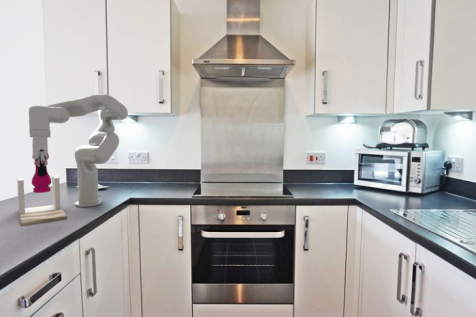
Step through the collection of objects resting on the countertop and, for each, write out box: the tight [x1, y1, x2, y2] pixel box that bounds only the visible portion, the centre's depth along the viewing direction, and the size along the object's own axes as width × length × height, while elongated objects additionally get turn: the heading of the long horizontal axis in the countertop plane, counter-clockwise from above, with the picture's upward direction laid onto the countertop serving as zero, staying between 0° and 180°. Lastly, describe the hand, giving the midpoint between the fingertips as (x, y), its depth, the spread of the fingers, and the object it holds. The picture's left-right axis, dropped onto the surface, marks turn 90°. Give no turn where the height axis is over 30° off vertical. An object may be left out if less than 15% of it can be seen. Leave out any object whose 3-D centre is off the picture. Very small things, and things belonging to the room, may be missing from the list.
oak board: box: [19, 208, 68, 226], centre depth 125 cm, size 16×16×1 cm
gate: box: [16, 174, 61, 216], centre depth 136 cm, size 10×16×16 cm, turn 130°
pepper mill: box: [31, 153, 52, 194], centre depth 123 cm, size 7×7×20 cm
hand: (41, 174), depth 124 cm, fingers closed on pepper mill, 5 cm apart
